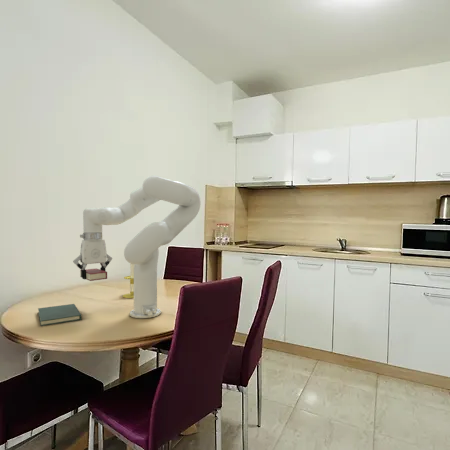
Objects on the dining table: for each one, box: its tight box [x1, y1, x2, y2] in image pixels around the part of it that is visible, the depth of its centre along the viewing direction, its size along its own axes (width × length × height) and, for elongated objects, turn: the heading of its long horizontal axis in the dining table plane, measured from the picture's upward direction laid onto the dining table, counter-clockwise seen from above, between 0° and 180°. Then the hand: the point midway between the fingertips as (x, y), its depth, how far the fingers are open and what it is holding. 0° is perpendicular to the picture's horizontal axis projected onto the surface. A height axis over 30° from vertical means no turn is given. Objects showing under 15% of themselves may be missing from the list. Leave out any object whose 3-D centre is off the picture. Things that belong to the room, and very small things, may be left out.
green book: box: [37, 303, 82, 327], centre depth 133 cm, size 20×14×2 cm
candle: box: [122, 263, 135, 299], centre depth 168 cm, size 10×10×27 cm
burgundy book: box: [79, 268, 108, 282], centre depth 139 cm, size 13×7×3 cm, turn 41°
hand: (93, 277), depth 139 cm, fingers closed on burgundy book, 7 cm apart
